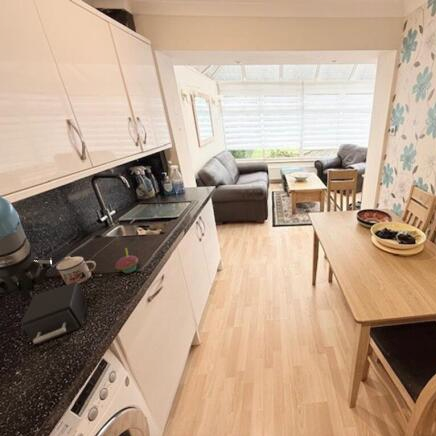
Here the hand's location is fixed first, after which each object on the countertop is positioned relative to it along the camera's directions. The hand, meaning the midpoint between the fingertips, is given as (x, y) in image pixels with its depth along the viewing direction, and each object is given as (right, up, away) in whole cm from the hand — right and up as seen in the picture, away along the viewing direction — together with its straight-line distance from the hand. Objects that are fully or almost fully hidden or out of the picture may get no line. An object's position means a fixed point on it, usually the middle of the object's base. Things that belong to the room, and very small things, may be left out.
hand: (28, 295), depth 65 cm
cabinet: (-7, -15, +17) cm, 24 cm away
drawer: (-5, -15, +14) cm, 21 cm away
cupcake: (0, -3, +42) cm, 42 cm away
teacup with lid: (-19, -5, +39) cm, 44 cm away
